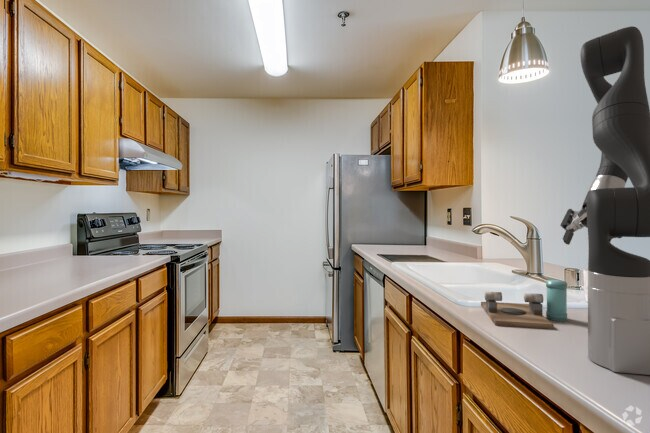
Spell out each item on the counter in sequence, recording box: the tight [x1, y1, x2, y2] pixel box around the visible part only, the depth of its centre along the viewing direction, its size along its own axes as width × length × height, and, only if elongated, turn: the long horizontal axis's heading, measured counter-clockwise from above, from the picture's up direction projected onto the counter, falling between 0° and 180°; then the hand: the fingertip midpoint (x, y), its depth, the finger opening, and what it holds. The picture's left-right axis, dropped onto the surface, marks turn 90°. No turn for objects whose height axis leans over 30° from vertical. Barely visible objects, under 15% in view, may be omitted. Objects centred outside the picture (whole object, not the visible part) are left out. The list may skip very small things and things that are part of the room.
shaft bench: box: [480, 291, 554, 330], centre depth 93 cm, size 18×14×6 cm
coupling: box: [545, 279, 568, 322], centre depth 91 cm, size 5×5×10 cm
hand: (582, 246), depth 95 cm, fingers open, 8 cm apart
